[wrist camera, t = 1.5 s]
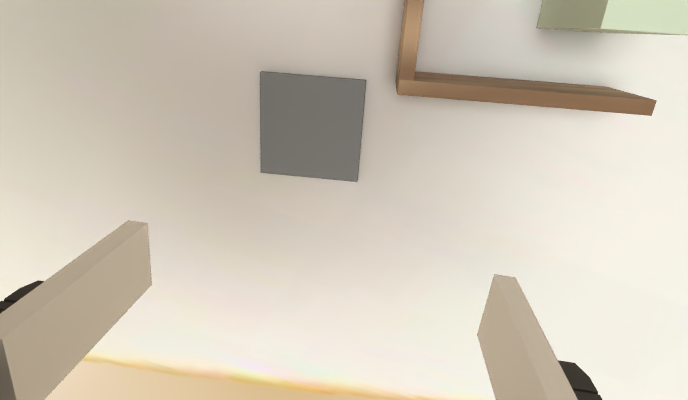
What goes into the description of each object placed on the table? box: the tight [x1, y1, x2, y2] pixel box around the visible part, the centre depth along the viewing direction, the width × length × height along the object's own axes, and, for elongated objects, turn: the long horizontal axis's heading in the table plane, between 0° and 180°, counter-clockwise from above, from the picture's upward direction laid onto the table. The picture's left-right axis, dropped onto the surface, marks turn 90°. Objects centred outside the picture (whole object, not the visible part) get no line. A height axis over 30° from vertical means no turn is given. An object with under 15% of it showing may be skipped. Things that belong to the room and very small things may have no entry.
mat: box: [260, 71, 366, 182], centre depth 38 cm, size 9×9×1 cm
